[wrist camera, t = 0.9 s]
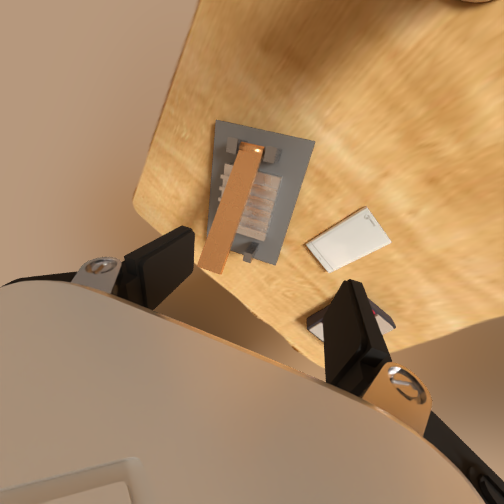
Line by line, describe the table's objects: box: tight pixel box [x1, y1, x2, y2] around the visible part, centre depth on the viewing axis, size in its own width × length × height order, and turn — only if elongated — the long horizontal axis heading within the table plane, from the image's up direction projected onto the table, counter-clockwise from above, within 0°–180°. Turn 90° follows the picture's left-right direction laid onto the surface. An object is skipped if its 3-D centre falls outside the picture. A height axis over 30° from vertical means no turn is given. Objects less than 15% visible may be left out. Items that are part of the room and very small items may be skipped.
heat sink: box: [217, 137, 283, 263], centre depth 34 cm, size 20×10×5 cm, turn 169°
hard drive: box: [306, 206, 392, 273], centre depth 36 cm, size 2×8×12 cm
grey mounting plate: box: [207, 120, 315, 265], centre depth 37 cm, size 24×17×2 cm
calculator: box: [307, 299, 396, 342], centre depth 43 cm, size 11×4×15 cm
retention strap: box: [197, 142, 265, 274], centre depth 27 cm, size 20×4×2 cm
